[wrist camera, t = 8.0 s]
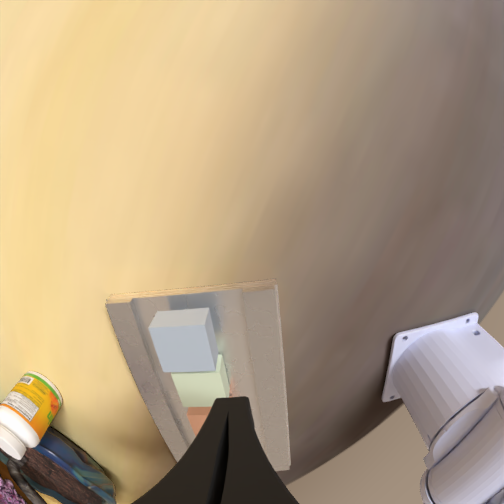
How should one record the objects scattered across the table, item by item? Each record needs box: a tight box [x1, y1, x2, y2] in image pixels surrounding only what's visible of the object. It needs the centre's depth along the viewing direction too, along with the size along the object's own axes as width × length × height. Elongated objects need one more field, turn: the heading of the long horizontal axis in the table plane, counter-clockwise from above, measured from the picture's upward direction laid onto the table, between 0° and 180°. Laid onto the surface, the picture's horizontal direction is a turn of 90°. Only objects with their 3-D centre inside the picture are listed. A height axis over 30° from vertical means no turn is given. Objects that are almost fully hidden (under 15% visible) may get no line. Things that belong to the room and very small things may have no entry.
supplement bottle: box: [0, 371, 62, 460], centre depth 19 cm, size 5×5×10 cm
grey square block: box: [148, 308, 218, 372], centre depth 17 cm, size 3×3×2 cm
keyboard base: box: [105, 279, 291, 471], centre depth 22 cm, size 12×22×2 cm, turn 7°
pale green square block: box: [171, 354, 230, 407], centre depth 20 cm, size 3×3×2 cm
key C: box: [187, 396, 232, 436], centre depth 21 cm, size 3×3×2 cm
